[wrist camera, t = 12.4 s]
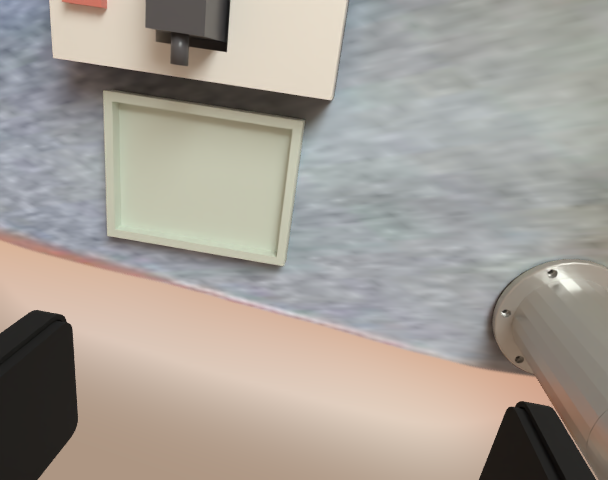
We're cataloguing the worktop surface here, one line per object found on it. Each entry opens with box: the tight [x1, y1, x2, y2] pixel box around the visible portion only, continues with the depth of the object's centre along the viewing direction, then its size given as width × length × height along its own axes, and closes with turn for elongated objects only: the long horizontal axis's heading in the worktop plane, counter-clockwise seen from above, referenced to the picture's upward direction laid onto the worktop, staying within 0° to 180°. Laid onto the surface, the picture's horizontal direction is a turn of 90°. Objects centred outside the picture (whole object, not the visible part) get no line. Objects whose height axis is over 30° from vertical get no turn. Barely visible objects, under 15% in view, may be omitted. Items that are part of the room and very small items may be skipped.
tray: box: [103, 90, 305, 266], centre depth 40 cm, size 18×14×2 cm
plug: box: [145, 0, 230, 66], centre depth 31 cm, size 4×8×7 cm, turn 172°
